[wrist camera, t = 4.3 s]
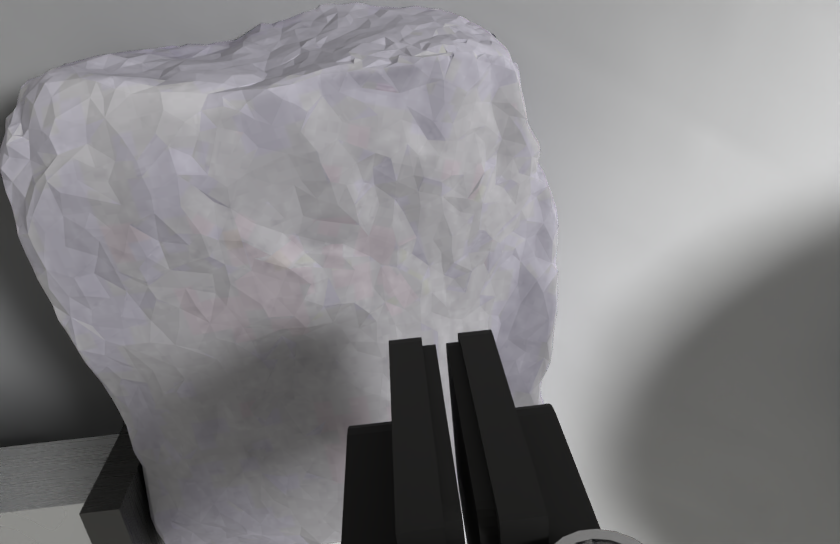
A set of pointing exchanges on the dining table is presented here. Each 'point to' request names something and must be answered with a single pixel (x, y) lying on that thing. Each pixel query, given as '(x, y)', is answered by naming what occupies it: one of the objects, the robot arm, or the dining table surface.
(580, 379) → the dining table surface
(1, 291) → the dining table surface
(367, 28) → the stone block
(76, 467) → the bar with dark endcap
